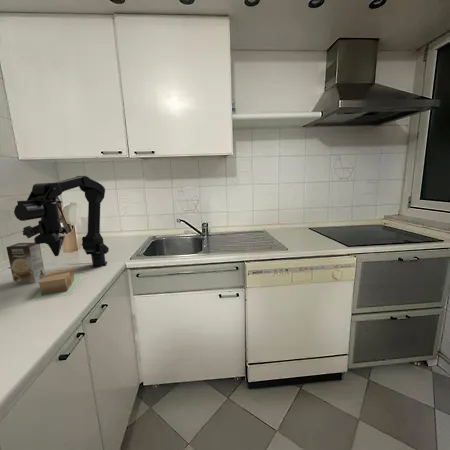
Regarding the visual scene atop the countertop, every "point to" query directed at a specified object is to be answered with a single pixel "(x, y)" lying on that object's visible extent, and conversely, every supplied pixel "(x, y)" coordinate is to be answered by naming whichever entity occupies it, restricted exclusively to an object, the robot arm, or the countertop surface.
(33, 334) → the countertop surface
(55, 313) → the countertop surface
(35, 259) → the coffee box
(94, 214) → the robot arm
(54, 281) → the walnut block
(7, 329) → the countertop surface
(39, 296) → the mat
